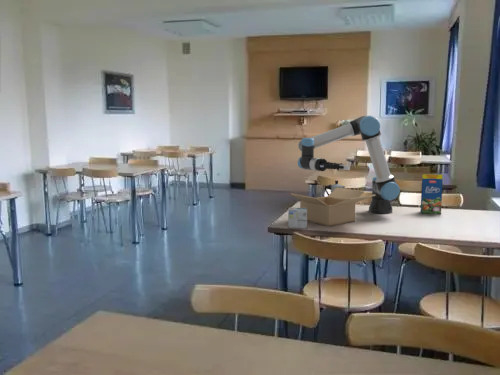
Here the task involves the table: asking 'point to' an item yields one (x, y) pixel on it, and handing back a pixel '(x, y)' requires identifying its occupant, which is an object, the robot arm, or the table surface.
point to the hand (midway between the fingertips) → (349, 167)
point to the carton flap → (352, 200)
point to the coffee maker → (333, 187)
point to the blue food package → (431, 194)
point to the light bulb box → (297, 218)
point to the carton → (328, 215)
